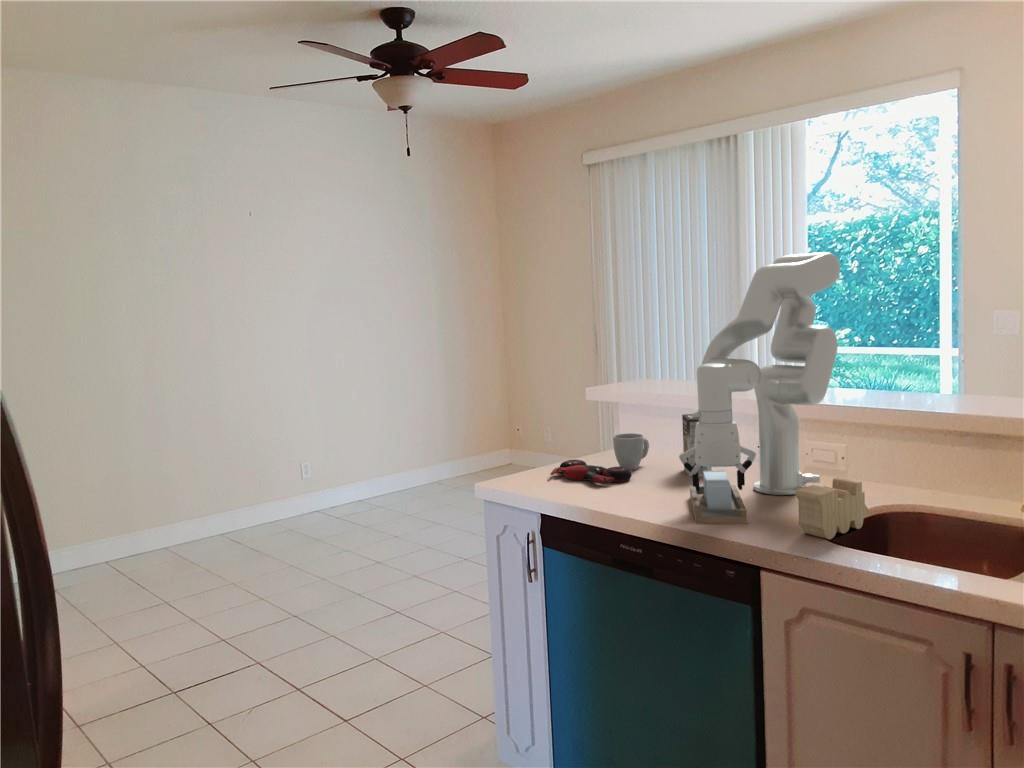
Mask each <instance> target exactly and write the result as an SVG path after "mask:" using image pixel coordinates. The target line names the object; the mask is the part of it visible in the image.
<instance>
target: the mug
mask: <svg viewBox="0 0 1024 768" xmlns="http://www.w3.org/2000/svg"><path fill="white" fill-rule="evenodd" d="M612 439H613V450H614V451H613V452H614V454H615V458H616V461H617V463H618V465H619V466H618V467H626V468H628V469H630V470H631V471H633V470H638V469H639V467H640V465H641V464H640V463H642V462H641V461H642V460H643V459H645V458H646V457H647V455H648V454H649V453H648V452H649V450H650V449H649V448H650V444H649V440H648V439H647V438H645V437H644V435H643V434H641V433H633V432H632V433H629V432H627V433H617V434H615V435H613V438H612Z"/></svg>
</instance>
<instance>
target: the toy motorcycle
mask: <svg viewBox="0 0 1024 768" xmlns="http://www.w3.org/2000/svg"><path fill="white" fill-rule="evenodd" d="M555 474H556V475H558V476H561V475H564V476H565V477H566V478H568V479H570V480H573V481H591V482H593V483H595V484H603V483H610V482H612V483H622V482H627V481H629V480H630V479H631V478H632V475H633V474H632V470H630V469H628V468H626V467H620V466H611V467H608V468H606V467H603V466H599V465H589V464H587V462H585V461H584V460H581V459H568V460H565V461H563V462H561V463H560V465H559V466H558V467H555V468H554V469H553V470H552V471H551V472H550V474H549V475H550V476H553V475H555Z"/></svg>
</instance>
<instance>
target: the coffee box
mask: <svg viewBox="0 0 1024 768" xmlns="http://www.w3.org/2000/svg"><path fill="white" fill-rule="evenodd" d="M681 416H682V420H681V421H682V442H683V443H682V444H683V449H682V451H683V453H684V452H685V451H687V450H689V449H691V448H693V447H694V442H695V428H696V423H698V422H699V420H698V419H693V418H692V413H689V414H688V413H687V414H686V413H685V414H682V415H681ZM687 461H688V462H689V463H690V464H691V465H692V466H693V465H694V463H695V462H696V461H695V454H693V455H691V456H689V457H688V458H687ZM683 470H684V471H685V472H686V474H687V475H688V476H689V477H692V473H691V472H690V471H689V470H687V469H686V468H685V467H684V466H683ZM703 471H713V470H712V467H701V468H700V469H699V470H698V474H699V477H703Z"/></svg>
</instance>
